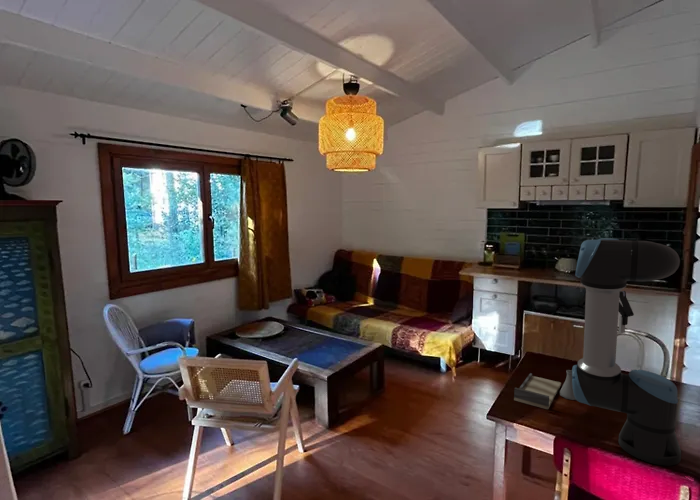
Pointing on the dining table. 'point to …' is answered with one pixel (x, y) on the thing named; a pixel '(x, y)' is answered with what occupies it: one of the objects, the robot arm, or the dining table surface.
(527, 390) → the stand board
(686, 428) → the dining table surface
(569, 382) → the flask
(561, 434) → the dining table surface
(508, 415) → the dining table surface
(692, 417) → the dining table surface
